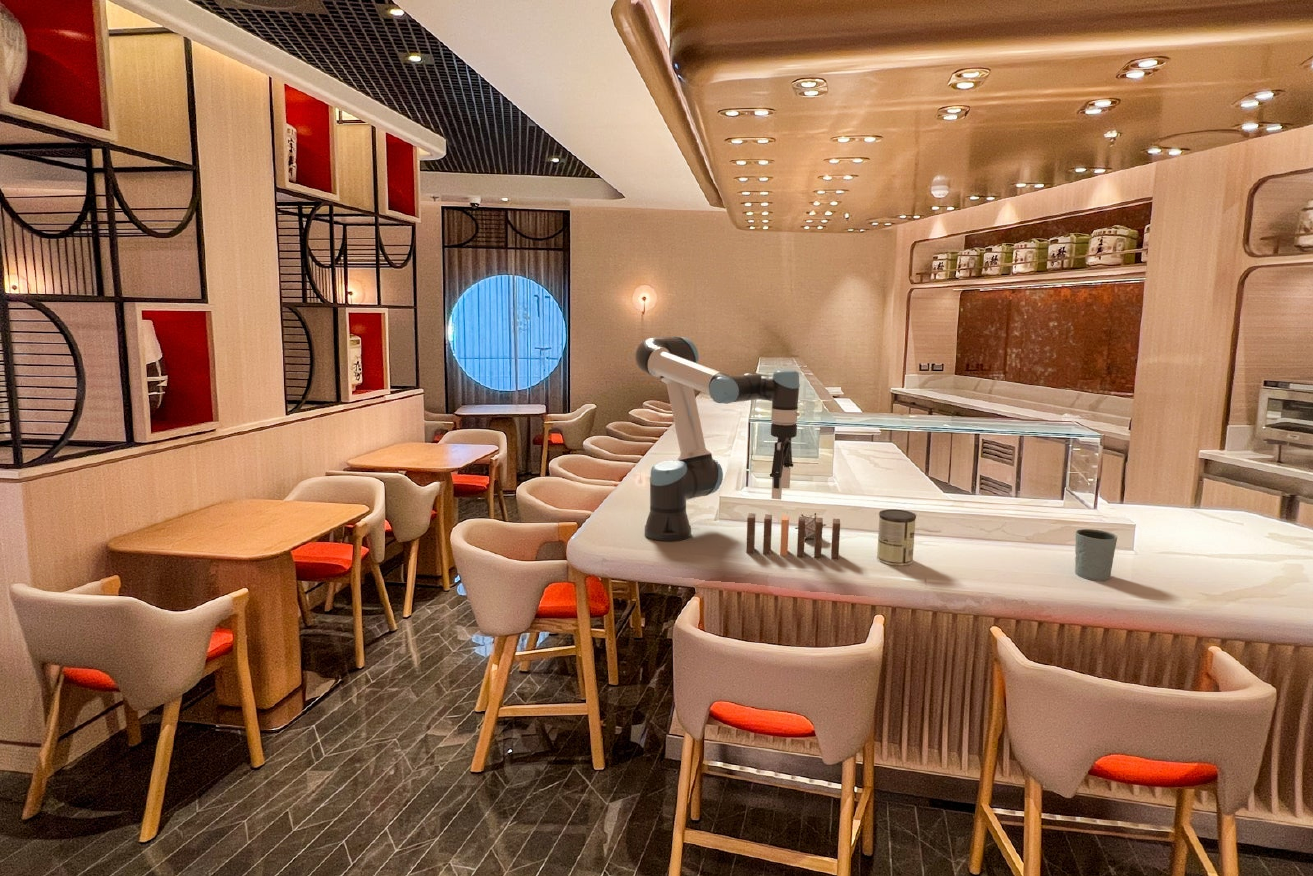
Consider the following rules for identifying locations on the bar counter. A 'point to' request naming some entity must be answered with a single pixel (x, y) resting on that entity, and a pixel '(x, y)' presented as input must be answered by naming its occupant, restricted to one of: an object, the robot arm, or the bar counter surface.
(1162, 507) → the bar counter surface
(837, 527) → the domino
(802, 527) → the domino
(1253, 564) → the bar counter surface
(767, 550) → the domino
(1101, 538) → the grey green cup
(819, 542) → the domino
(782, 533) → the domino
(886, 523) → the coffee can
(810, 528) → the game die
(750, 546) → the domino
